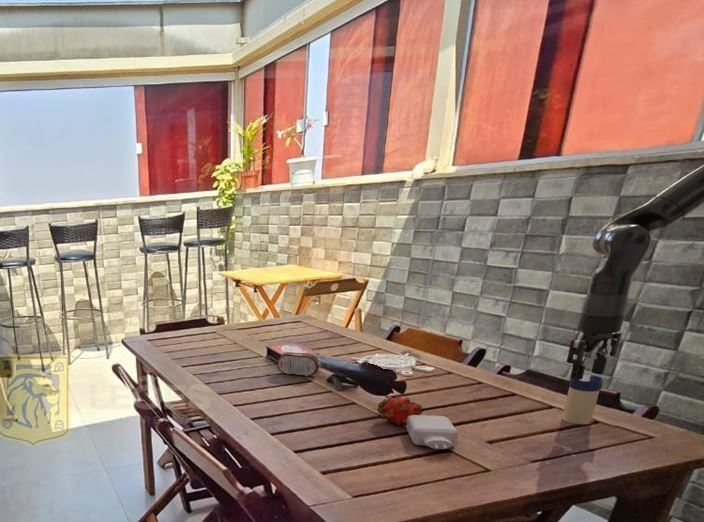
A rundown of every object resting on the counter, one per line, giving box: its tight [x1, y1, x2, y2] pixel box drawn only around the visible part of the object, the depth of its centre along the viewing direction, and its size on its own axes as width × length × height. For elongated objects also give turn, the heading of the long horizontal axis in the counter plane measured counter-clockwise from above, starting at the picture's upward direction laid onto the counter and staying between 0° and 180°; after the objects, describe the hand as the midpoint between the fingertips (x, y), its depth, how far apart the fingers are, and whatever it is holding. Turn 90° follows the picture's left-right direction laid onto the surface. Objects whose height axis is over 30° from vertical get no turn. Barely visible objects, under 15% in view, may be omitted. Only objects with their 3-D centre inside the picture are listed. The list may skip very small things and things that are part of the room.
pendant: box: [351, 352, 436, 377], centre depth 183 cm, size 21×28×1 cm
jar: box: [561, 386, 601, 426], centre depth 126 cm, size 6×6×11 cm
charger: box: [405, 414, 459, 450], centre depth 123 cm, size 5×9×15 cm
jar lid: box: [568, 373, 604, 391], centre depth 124 cm, size 6×6×2 cm
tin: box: [276, 351, 321, 377], centre depth 183 cm, size 15×3×8 cm, turn 52°
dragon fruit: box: [376, 395, 425, 426], centre depth 136 cm, size 8×8×12 cm
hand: (586, 376), depth 124 cm, fingers open, 7 cm apart
